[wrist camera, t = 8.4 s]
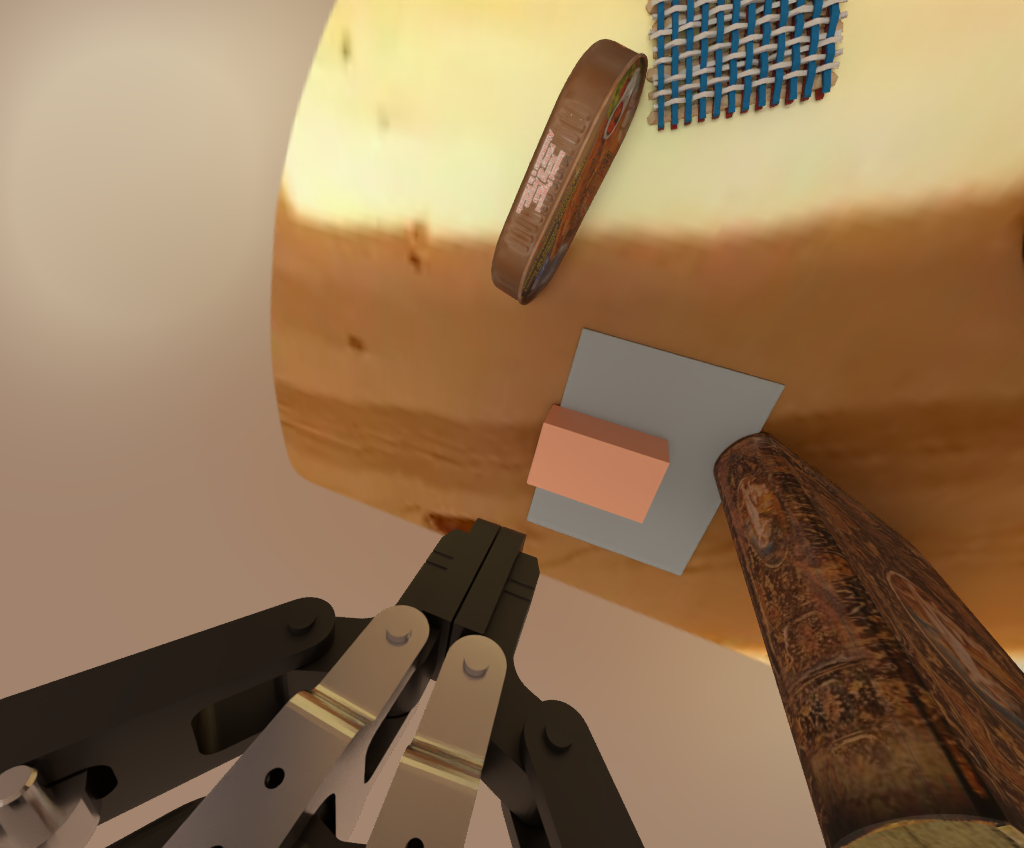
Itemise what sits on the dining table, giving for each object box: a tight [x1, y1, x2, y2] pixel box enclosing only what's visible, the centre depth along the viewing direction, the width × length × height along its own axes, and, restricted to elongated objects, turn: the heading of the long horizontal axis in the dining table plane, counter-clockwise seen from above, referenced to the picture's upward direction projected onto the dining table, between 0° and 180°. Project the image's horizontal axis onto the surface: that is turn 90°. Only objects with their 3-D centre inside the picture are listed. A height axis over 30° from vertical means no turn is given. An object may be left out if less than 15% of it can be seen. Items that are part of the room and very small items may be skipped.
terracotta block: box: [527, 404, 670, 523], centre depth 37 cm, size 4×6×10 cm
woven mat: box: [646, 0, 848, 131], centre depth 25 cm, size 10×11×2 cm
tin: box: [491, 39, 648, 305], centre depth 27 cm, size 15×3×8 cm, turn 153°
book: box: [713, 433, 1024, 848], centre depth 24 cm, size 16×6×25 cm, turn 55°
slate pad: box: [527, 328, 785, 576], centre depth 38 cm, size 16×20×1 cm
